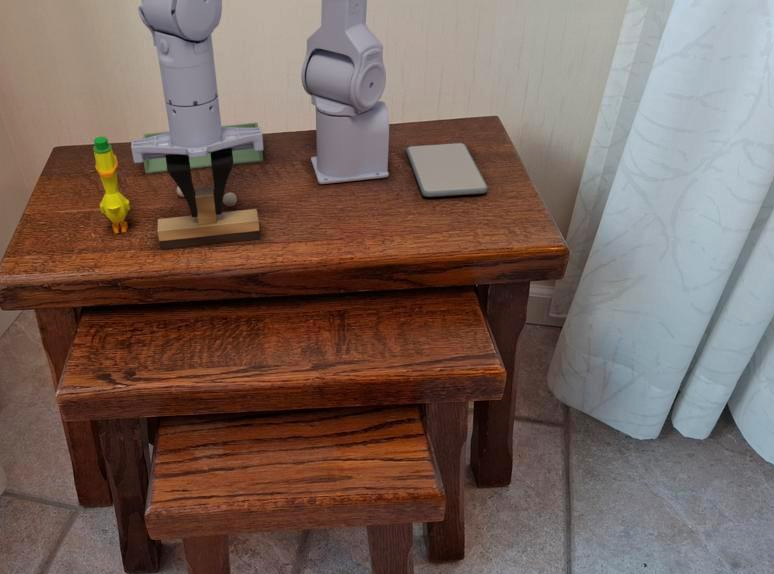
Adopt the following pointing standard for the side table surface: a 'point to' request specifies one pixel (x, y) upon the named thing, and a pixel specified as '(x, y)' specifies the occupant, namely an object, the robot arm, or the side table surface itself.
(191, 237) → the brush
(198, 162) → the dustpan
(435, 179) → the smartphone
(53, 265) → the side table surface
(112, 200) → the toy figure
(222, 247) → the side table surface
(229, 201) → the crumb
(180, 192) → the crumb
